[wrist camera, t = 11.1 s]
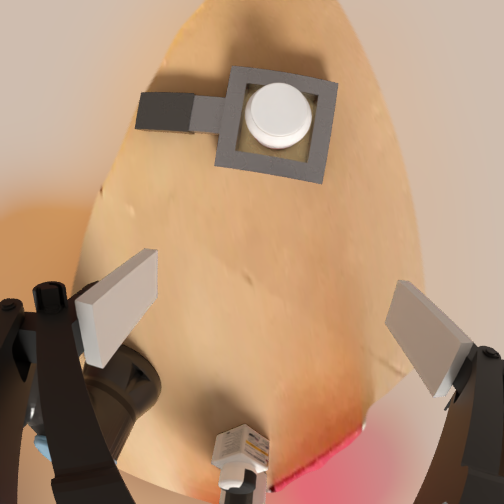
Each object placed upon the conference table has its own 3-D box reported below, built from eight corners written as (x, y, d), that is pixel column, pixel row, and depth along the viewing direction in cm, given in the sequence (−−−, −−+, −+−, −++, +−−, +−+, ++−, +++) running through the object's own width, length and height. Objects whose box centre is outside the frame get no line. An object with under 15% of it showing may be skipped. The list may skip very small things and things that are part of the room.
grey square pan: (141, 157, 35) (127, 157, 31) (155, 72, 31) (143, 64, 28) (316, 182, 34) (322, 184, 31) (331, 91, 31) (338, 83, 27)
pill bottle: (257, 95, 31) (250, 66, 20) (308, 107, 31) (324, 84, 20) (245, 143, 33) (232, 135, 22) (296, 155, 33) (307, 153, 22)
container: (270, 440, 49) (267, 492, 36) (241, 451, 51) (235, 500, 38) (245, 422, 48) (237, 478, 35) (216, 434, 49) (205, 485, 37)
